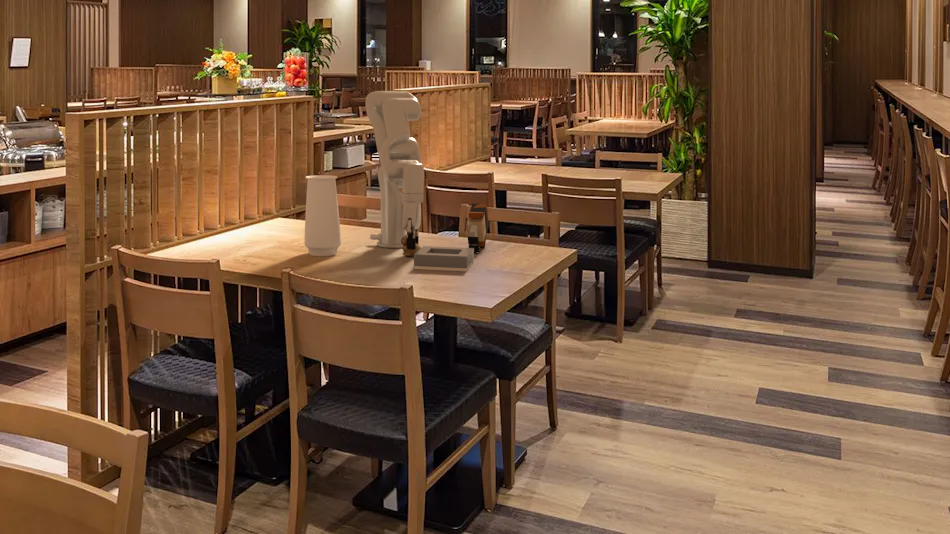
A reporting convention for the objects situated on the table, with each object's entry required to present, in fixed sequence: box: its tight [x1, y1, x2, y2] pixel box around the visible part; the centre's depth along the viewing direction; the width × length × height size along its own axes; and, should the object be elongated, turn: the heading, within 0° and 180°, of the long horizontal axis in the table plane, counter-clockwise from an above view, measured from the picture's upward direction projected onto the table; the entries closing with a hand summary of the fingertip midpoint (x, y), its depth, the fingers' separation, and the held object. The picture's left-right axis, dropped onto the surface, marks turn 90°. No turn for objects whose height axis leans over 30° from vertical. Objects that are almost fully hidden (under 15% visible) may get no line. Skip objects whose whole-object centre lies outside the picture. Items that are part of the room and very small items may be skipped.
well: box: [413, 245, 475, 272], centre depth 306 cm, size 18×16×5 cm
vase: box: [304, 174, 342, 257], centre depth 322 cm, size 13×13×28 cm
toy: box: [466, 202, 490, 253], centre depth 337 cm, size 16×6×20 cm
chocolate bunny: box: [401, 228, 422, 257], centre depth 322 cm, size 6×8×10 cm
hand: (412, 247), depth 322 cm, fingers closed on chocolate bunny, 4 cm apart
